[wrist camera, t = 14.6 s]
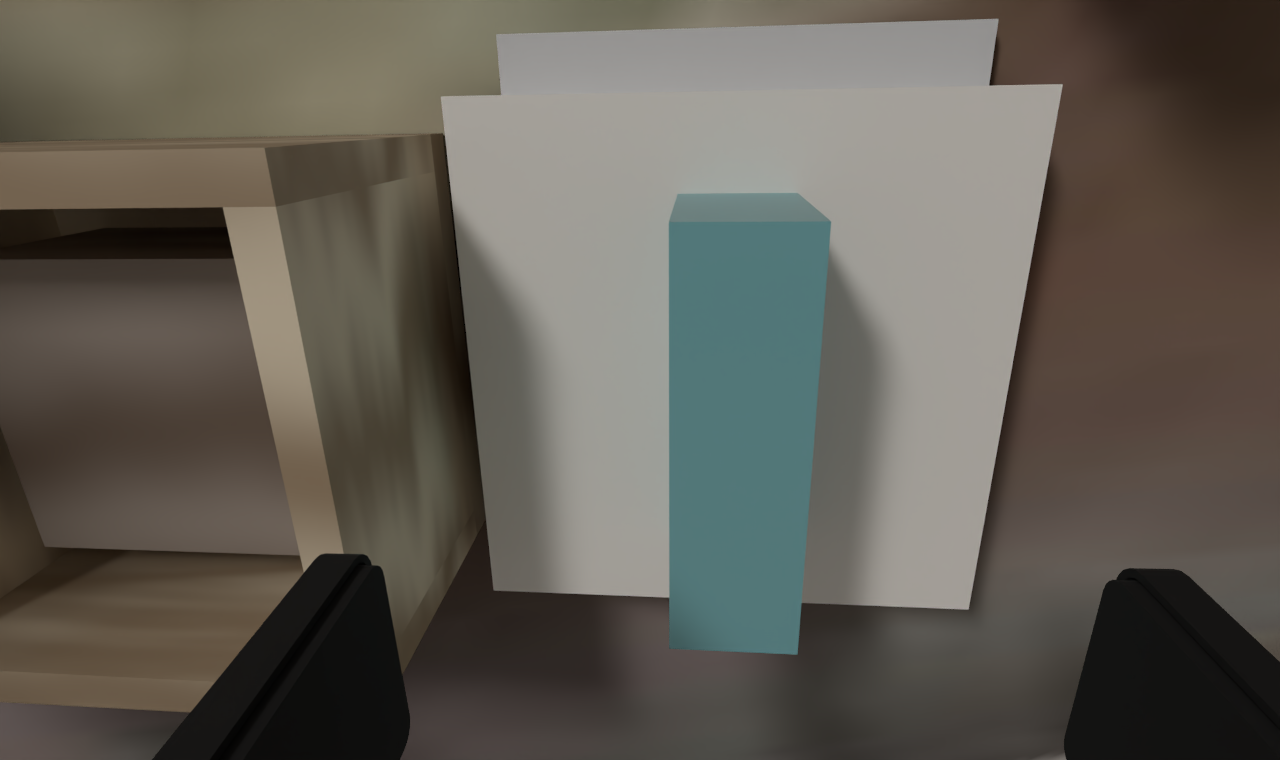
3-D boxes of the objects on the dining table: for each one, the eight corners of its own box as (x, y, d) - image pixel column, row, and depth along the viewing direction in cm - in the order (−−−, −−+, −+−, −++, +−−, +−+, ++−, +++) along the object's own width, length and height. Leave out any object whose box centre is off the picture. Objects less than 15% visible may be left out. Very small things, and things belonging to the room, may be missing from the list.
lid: (467, 98, 20) (346, 90, 13) (1022, 86, 18) (1205, 72, 12) (510, 551, 25) (439, 713, 18) (945, 566, 24) (1041, 746, 17)
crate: (31, 141, 22) (-391, 159, 13) (442, 133, 21) (264, 147, 12) (143, 509, 26) (-119, 695, 18) (485, 519, 25) (377, 722, 17)
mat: (502, 36, 20) (496, 34, 19) (989, 21, 19) (998, 19, 18) (545, 580, 26) (542, 590, 25) (910, 593, 25) (915, 604, 24)
